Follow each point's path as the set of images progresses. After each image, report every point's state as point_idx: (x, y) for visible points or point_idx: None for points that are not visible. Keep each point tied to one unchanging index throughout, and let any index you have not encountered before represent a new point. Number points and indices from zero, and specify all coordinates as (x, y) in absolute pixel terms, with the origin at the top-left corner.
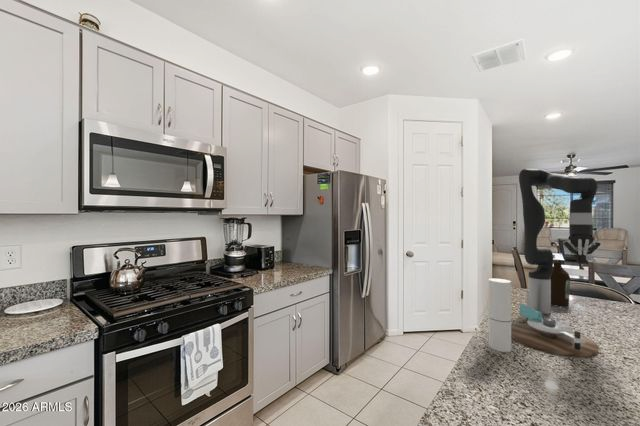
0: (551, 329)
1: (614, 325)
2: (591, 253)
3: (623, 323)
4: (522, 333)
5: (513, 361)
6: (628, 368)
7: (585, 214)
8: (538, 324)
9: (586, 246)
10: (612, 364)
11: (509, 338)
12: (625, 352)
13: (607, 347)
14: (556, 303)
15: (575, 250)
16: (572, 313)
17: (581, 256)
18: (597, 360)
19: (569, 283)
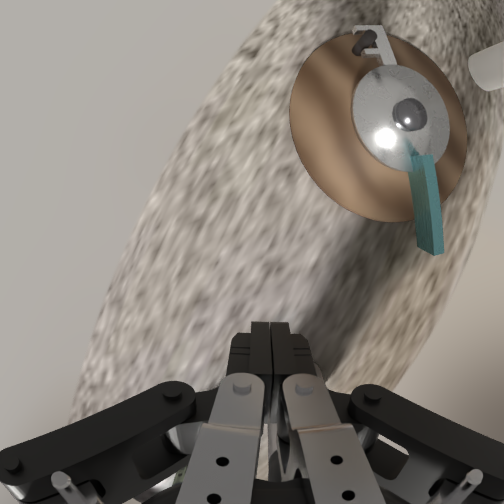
0: (412, 78)
1: (141, 307)
2: (160, 384)
3: (114, 329)
4: None
5: (466, 23)
6: (282, 6)
7: None
8: (431, 114)
9: (218, 470)
10: (305, 16)
11: (486, 48)
12: (231, 86)
13: (258, 106)
14: None
15: (373, 413)
16: (206, 382)
17: (282, 365)
18: (327, 27)
19: (177, 476)
